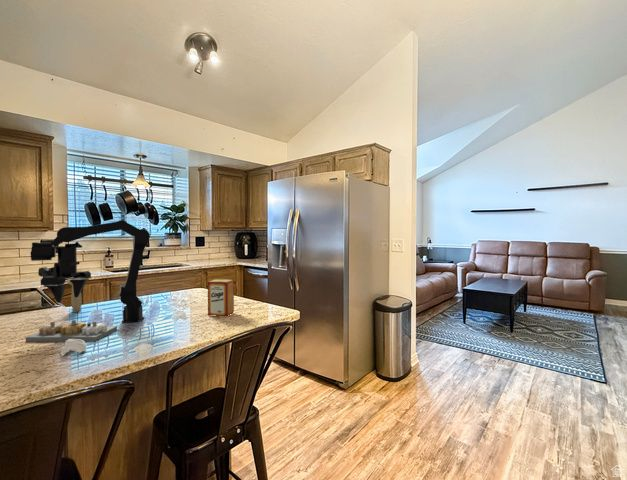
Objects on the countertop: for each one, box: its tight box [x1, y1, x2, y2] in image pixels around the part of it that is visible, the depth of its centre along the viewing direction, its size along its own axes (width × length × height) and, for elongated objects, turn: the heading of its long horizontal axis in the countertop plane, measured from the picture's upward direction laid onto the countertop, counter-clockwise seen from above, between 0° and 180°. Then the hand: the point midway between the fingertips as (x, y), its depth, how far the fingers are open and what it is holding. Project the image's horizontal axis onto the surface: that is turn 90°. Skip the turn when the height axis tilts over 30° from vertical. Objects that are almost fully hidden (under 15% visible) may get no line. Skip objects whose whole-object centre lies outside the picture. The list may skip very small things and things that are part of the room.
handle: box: [67, 279, 83, 312], centre depth 147 cm, size 5×6×15 cm
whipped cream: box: [60, 339, 87, 357], centre depth 97 cm, size 8×7×5 cm
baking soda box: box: [207, 279, 235, 317], centre depth 141 cm, size 10×6×16 cm
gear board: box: [25, 319, 118, 343], centre depth 113 cm, size 24×12×6 cm, turn 91°
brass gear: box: [61, 321, 87, 335], centre depth 113 cm, size 7×7×2 cm
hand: (67, 299), depth 119 cm, fingers open, 9 cm apart
